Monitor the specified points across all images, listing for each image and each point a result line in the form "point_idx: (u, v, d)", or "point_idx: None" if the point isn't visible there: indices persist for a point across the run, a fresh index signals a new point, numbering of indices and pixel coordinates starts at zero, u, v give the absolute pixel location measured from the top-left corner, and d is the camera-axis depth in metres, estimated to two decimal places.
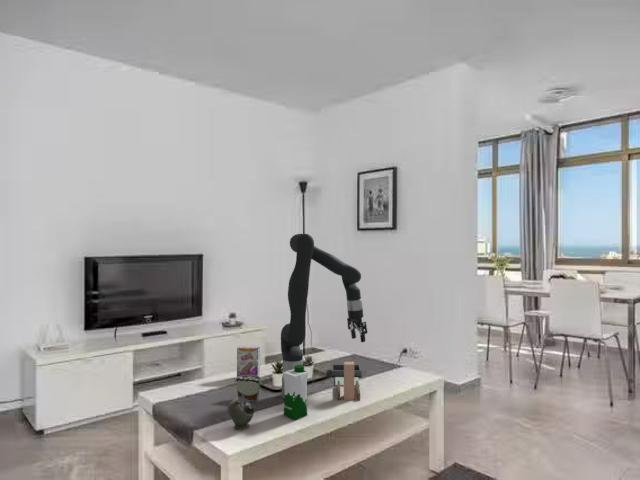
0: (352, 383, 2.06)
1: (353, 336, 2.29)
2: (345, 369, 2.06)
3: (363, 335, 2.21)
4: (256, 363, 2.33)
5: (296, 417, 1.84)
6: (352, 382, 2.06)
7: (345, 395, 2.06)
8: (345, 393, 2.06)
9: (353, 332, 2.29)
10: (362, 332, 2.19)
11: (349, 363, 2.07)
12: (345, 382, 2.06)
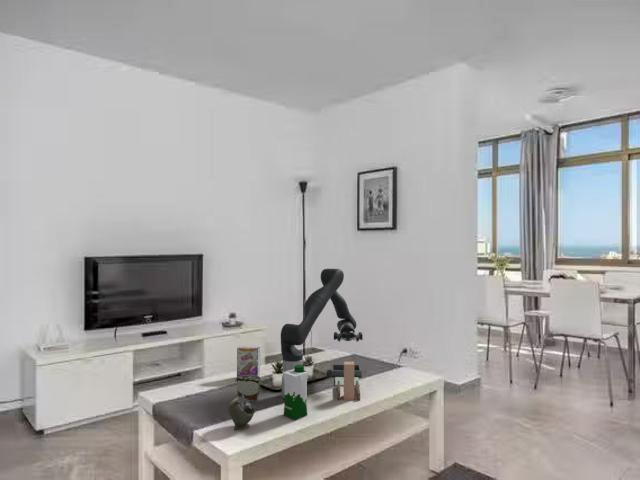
0: (352, 383, 2.06)
1: (340, 338, 2.20)
2: (345, 369, 2.06)
3: (359, 337, 2.22)
4: (256, 363, 2.33)
5: (296, 417, 1.84)
6: (352, 382, 2.06)
7: (345, 395, 2.06)
8: (345, 393, 2.06)
9: (340, 337, 2.22)
10: (361, 334, 2.24)
11: (349, 363, 2.07)
12: (345, 382, 2.06)
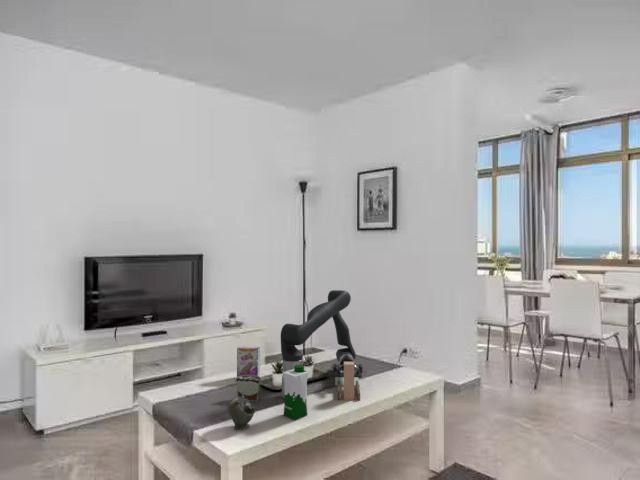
0: (352, 383, 2.06)
1: (339, 371, 2.16)
2: (345, 369, 2.06)
3: (359, 370, 2.18)
4: (256, 363, 2.33)
5: (296, 417, 1.84)
6: (352, 382, 2.06)
7: (345, 395, 2.06)
8: (345, 393, 2.06)
9: (339, 370, 2.18)
10: (361, 367, 2.20)
11: (349, 363, 2.07)
12: (345, 382, 2.06)
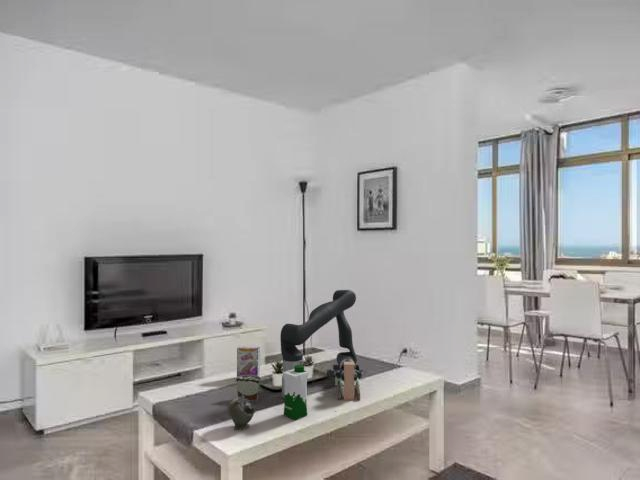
0: (352, 383, 2.06)
1: None
2: (345, 369, 2.06)
3: (356, 376, 2.09)
4: (256, 363, 2.33)
5: (296, 417, 1.84)
6: (352, 382, 2.06)
7: (345, 395, 2.06)
8: (345, 393, 2.06)
9: None
10: (359, 372, 2.11)
11: (349, 363, 2.07)
12: (345, 382, 2.06)
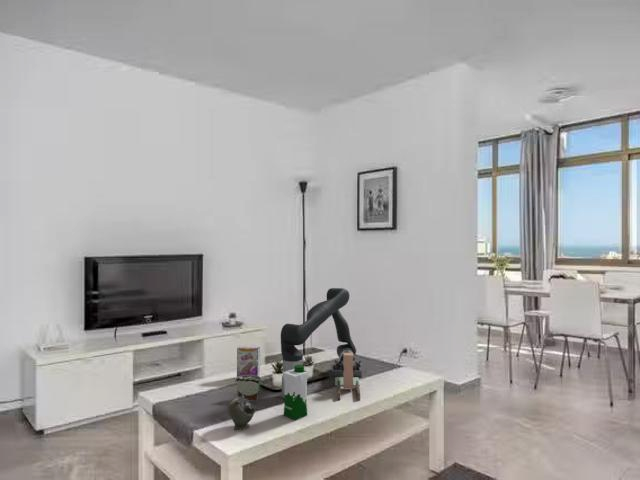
0: (351, 373, 2.16)
1: (343, 367, 2.17)
2: (344, 360, 2.16)
3: (355, 366, 2.19)
4: (256, 363, 2.33)
5: (296, 417, 1.84)
6: (351, 372, 2.16)
7: (344, 384, 2.17)
8: (344, 382, 2.17)
9: (343, 366, 2.19)
10: (357, 363, 2.21)
11: (348, 354, 2.18)
12: (344, 372, 2.17)
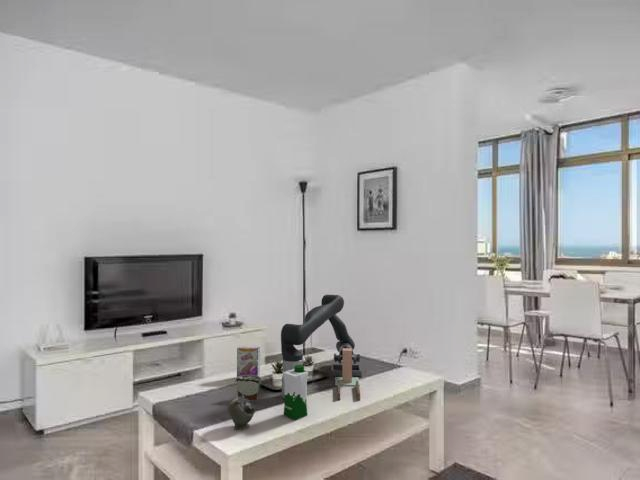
0: (350, 367, 2.28)
1: (340, 360, 2.29)
2: (343, 355, 2.28)
3: (356, 359, 2.31)
4: (256, 363, 2.33)
5: (296, 417, 1.84)
6: (350, 366, 2.28)
7: (343, 378, 2.28)
8: (343, 376, 2.28)
9: (340, 359, 2.31)
10: (358, 356, 2.33)
11: (347, 349, 2.29)
12: (343, 366, 2.28)
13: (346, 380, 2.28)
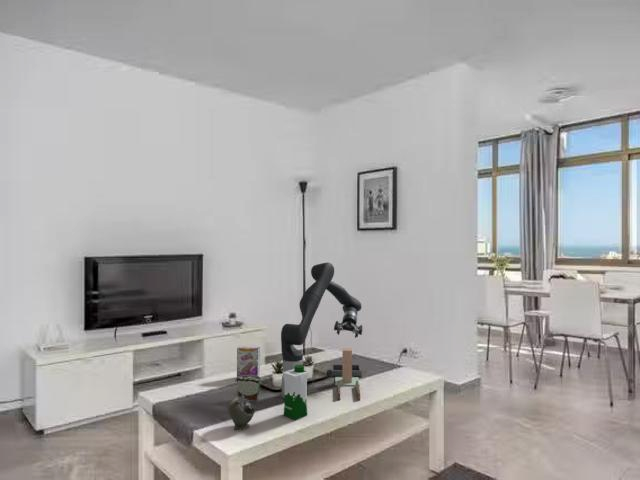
0: (350, 367, 2.28)
1: (339, 331, 2.26)
2: (343, 355, 2.28)
3: (358, 333, 2.27)
4: (256, 363, 2.33)
5: (296, 417, 1.84)
6: (350, 366, 2.28)
7: (343, 378, 2.28)
8: (343, 376, 2.28)
9: (339, 330, 2.28)
10: (361, 329, 2.29)
11: (347, 349, 2.29)
12: (343, 366, 2.28)
13: (346, 380, 2.28)
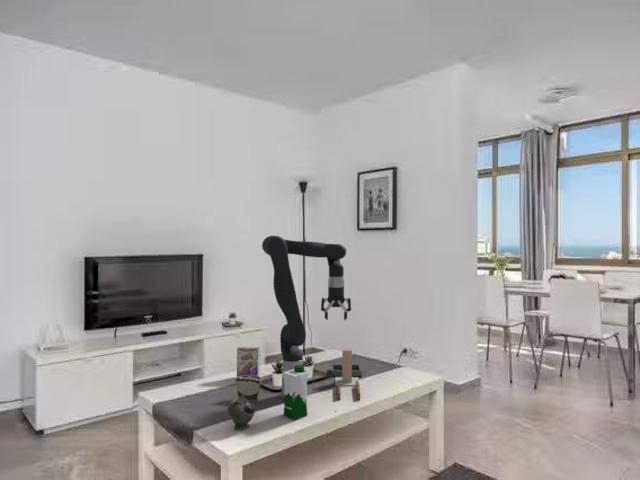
0: (350, 367, 2.28)
1: (327, 317, 2.17)
2: (343, 355, 2.28)
3: None
4: (256, 363, 2.33)
5: (296, 417, 1.84)
6: (350, 366, 2.28)
7: (343, 378, 2.28)
8: (343, 376, 2.28)
9: (327, 313, 2.17)
10: (349, 308, 2.16)
11: (347, 349, 2.29)
12: (343, 366, 2.28)
13: (346, 380, 2.28)
